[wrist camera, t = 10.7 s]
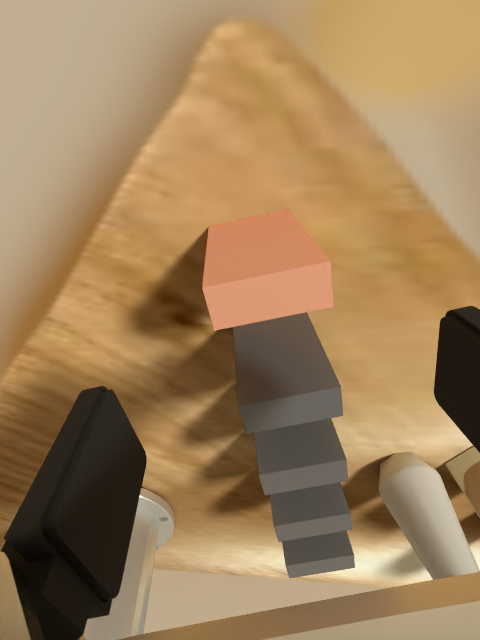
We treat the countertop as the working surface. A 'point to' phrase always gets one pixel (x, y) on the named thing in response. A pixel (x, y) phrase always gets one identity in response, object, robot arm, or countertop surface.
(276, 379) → the tile
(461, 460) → the skincare box
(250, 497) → the countertop surface
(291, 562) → the tile
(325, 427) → the tile
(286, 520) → the tile
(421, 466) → the salt shaker
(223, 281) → the head tile
